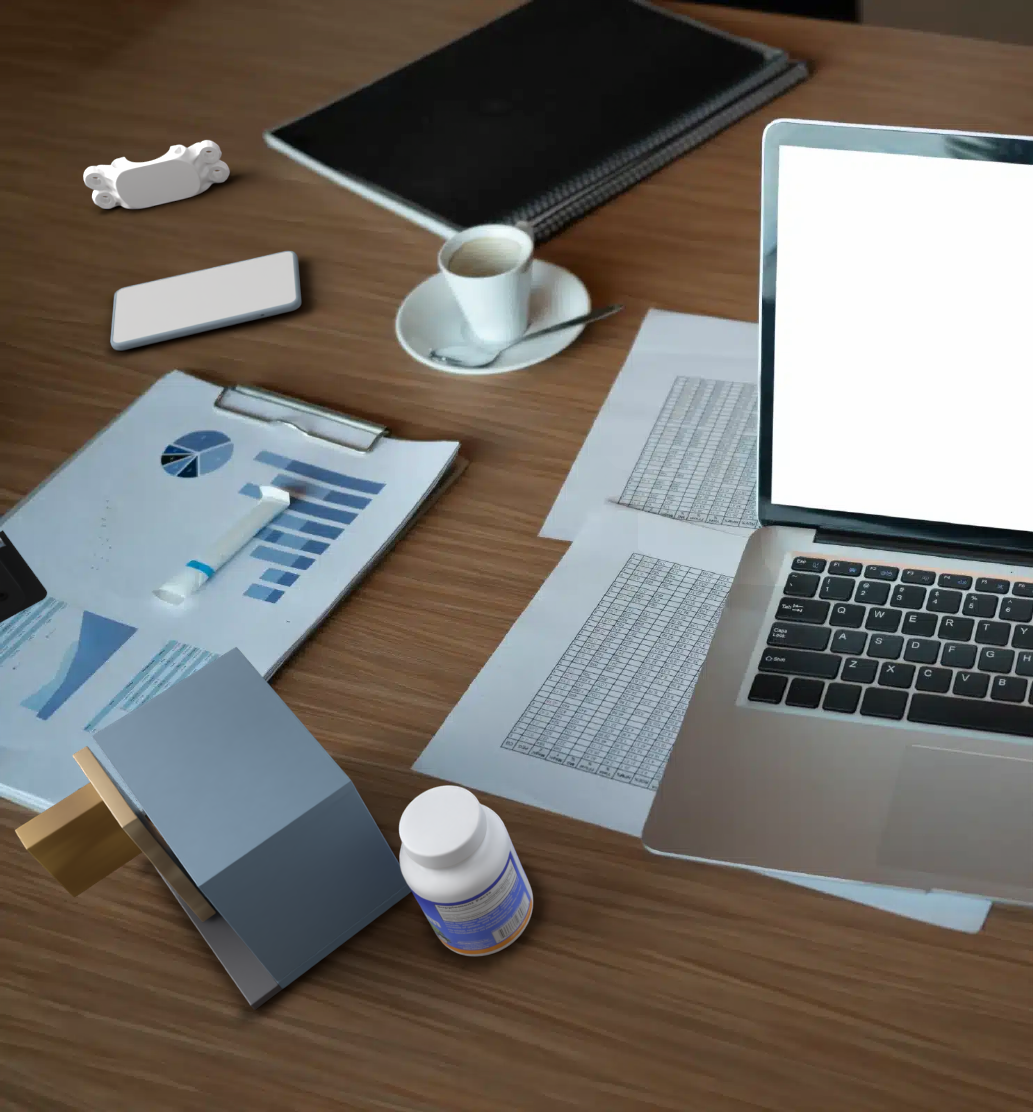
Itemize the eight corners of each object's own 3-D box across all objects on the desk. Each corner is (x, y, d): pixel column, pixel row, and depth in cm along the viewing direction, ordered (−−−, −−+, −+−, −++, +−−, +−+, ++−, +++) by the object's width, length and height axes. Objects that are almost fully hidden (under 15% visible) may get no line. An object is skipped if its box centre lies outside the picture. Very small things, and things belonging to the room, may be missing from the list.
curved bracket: (98, 219, 119) (78, 181, 116) (97, 205, 120) (77, 167, 118) (234, 186, 122) (218, 148, 119) (232, 173, 123) (215, 136, 120)
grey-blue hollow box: (254, 1010, 68) (165, 910, 59) (153, 864, 74) (59, 755, 66) (414, 889, 72) (351, 780, 64) (306, 761, 78) (236, 646, 70)
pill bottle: (430, 884, 72) (376, 789, 65) (527, 855, 73) (485, 758, 66) (441, 974, 69) (386, 883, 61) (543, 941, 69) (501, 849, 62)
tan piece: (131, 973, 68) (39, 881, 61) (84, 899, 71) (-9, 804, 64) (216, 912, 71) (137, 817, 63) (167, 843, 74) (86, 745, 66)
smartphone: (113, 288, 110) (295, 247, 112) (118, 297, 111) (299, 257, 113) (108, 347, 104) (299, 302, 107) (114, 356, 105) (303, 312, 108)
